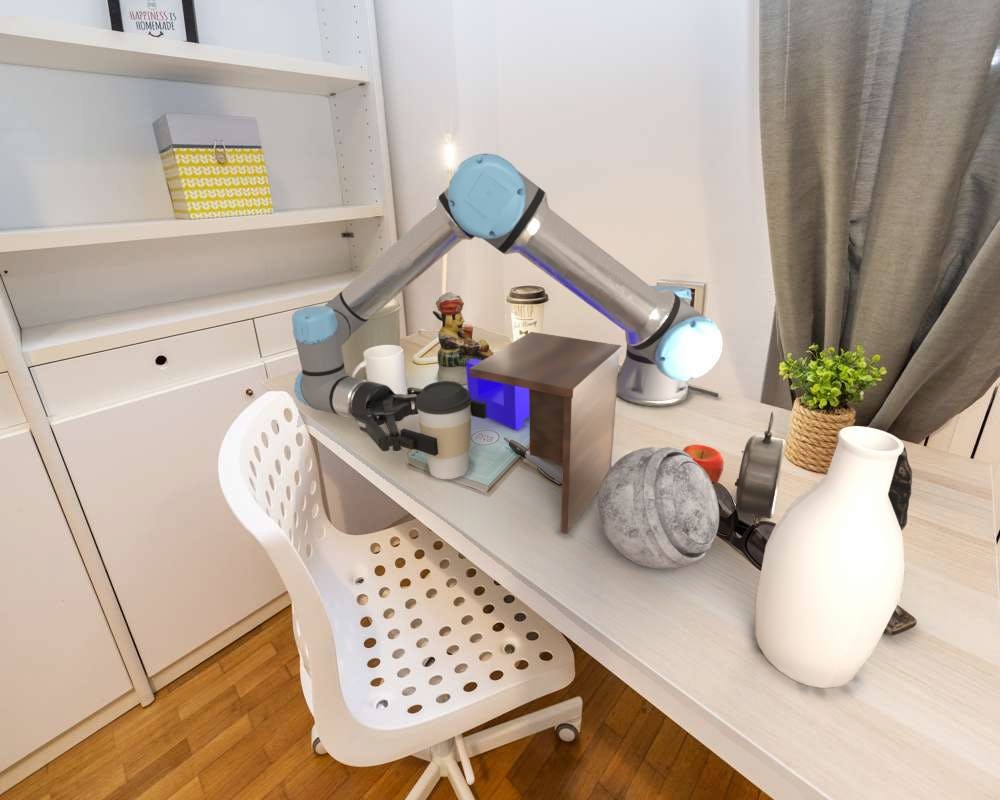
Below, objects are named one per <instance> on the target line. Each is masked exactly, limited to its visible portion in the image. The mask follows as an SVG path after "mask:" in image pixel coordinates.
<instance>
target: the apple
mask: <svg viewBox="0 0 1000 800" xmlns="http://www.w3.org/2000/svg"><path fill="white" fill-rule="evenodd" d="M682 451H684V452H686V453H687V454H689V455H690V456H691V457H692V458H693V461H695V462H697V464H699V465H700V466H701V467H702V468H703V469H704V470H705V472H706V473H707V474H708V476H709V478H710V480H711V482H715V483H717V484H718V483H719V481H720V478H721V476H722V473H723V471H724V464H725V462H724V458H723V456H722V453H721V452H719V451H718V450H717V449H715V448H713V447H710V446H707V445H702V444H690V445H687V446H685V447H684V449H683V450H682Z"/></svg>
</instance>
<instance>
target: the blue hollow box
mask: <svg viewBox="0 0 1000 800" xmlns="http://www.w3.org/2000/svg"><path fill="white" fill-rule="evenodd" d="M479 362H481V360H478V359H474V360H471V361H468V362H466V368H467V384H466V385H467V390H468V391H469V392H470V396H471V398H472V400H475V401H480V402H484V403H486V415H487V417H486V418H489V419H490V420H493V421H495V422H496V423H499V424H500V425H503V426H505V427H508V428H510V429H512V430H515V431H517V430H520V429H521V428H523V427H524V420H526V419H527V418H528V419H529V389H527V388H522V387H518V386H513V385H508V384H503V383H499V382H494V381H489V380H485V379H480V378H475V377H470V371H469V368H471V367H473V366H474V365H476V364H478V363H479Z"/></svg>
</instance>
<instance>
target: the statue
mask: <svg viewBox="0 0 1000 800" xmlns="http://www.w3.org/2000/svg"><path fill="white" fill-rule="evenodd" d="M912 484H913V470H912V467H911V466H910V463H909V460H908V452H907V448H906V446H904V449H903V452H902V453H901V454H900V455H899V456H898V459H897V463H896V467H895V470H894V474H893V478H892V481H891V485H890V489H889V492H888V497H889V499H890V502H891V504H892V507H893V510H894V512H895V515H896V518H897V520H898V523H899V525H900V528H901V531H902V532H903V530H904V529H905V527H906V526H907V523H908V510H909V505H910V499H911V495H912ZM917 622H918V621H917V619H916V618H915V617H914V616H913V615H912V614H911V613H909V612H908V611H906V610H905V609H904V608H903V607H901V606H900V605H899V604H897V606H896V608H895V610H894V612H893V614H892V616H891V618H890V620H889V622H888V624H887V626H886V628H885V630H884V632H885V633H886V634H888V635H890V636H894V635H898V634H901V633H903V632H906V631H908V630H911V629H913V628H915V627H916V626H917Z"/></svg>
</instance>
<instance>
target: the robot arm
mask: <svg viewBox="0 0 1000 800" xmlns="http://www.w3.org/2000/svg"><path fill="white" fill-rule="evenodd" d="M451 176H452V177H451V179H450V180H449V184H448V187H447V188H446V189H445V190H444V191H443V192H442V193H441V194H440V195H439V196H437V198H436V206H435V207H434V208H433V209H432V210H430V211H429V212H428V213H427V214H426V215H425V216H423V218H421V220H419V221H418V222H417V223H416V224H415V225H413V226H412V227H411V228H410V229H409V230H408V231H407V232H405V233H404V234H403V236H401V237H400V238H398V240H397V241H396V242H394V244H392V245H391V246H390V247H389V248H388V249H387V250H386V251H385V252H384V253H382V254H381V255H380V256H379V257H378V258H377V259H376V260H374V261H373V262H372V263H371V264H370V265H369V266H368V267H366V268H365V270H363V271H362V272H361V273H360V274H358V276H357V277H355V278H354V279H353V280H352V281H351V282H349V284H348V285H347V286H345V287H344V288H343V289H342V290H341V291H340V292H339V293H338V294H336V296H334V297H333V298H332V299H330V300H329V301H328V302H327V303H325V305H313V306H306V307H303V308H300V309H297V310H295V311H294V312H293V314H292V315H291V324H292V334H293V337H294V340H295V345H296V348H297V353H298V357H299V362H300V366H301V371H300V372H299V373H298V374H297V376H296V377H295V381H294V382H295V383H294V386H293V393H294V395H295V397H296V399H297V400H298V401H299V402H300V403H301V404H303V405H305V406H308V407H310V408H311V409H313V410H316V411H323V412H326V413H331V414H334V415H337V416H338V417H339V416H340V417H343V418H347V419H349V420H354V421H357V422H358V429H359V431H361V432H364V433H366V434H367V435H368V436H369V437H370V439H371V440H372V441H373V442H374V444H375V445H376V446H377V447H378V448H379V449H380V451H381V452H388V451H390V448H391V447H392V451H393V452H400V451H401V450H402V448H405V449H408V450H412V451H413V450H415V451H418V452H421V453H425V454H426V453H427V454H431V455H434V456H436V455H437V454H438V444H437V438H435V437H431V436H428V435H424V434H421V432H417V431H413V430H411V429H407V428H404V427H403V428H402V429H401V430H400V432H399V428H398V425H397V422H401V421H402V420H404V419H405V418H406V417H408V416H409V417H410V416H415V415H418V410H417V408H416V406H415V402H416V398H417V396H418V394H419V393H420V392H422V389H423V388H420V387H419V388H418V387H412V386H409V387H407V392H408V393H407V394H405V395H404V394H395V393H394V392H393V391H392V390H391V389H390V388H389V387H388V386H386V385H383V384H379V383H375V382H370V381H368V380H363V379H359V378H354V377H351V376H348V375H347V374H346V373H345V367H344V360H343V354H342V346H343V344H344V343H345V342H346V341H347V340H348V338H349V337H350V336H351V335H352V334H353V333H354V332H355V331H356V330H357V329H358V328H360V327H361V326H362V325H363V324H364V323H365V322H367V320H368V319H370V318H371V317H372V316H373V315H374V314H376V313H377V312H378V311H379V310H380V309H381V308H383V307H384V306H385V305H386V304H387V303H389V302H390V301H391V300H392V299H395V298H396V297H397V296H398V295H399V294H401V293H402V292H403V291H404V290H406V289H407V287H408V286H410V285H411V284H412V283H414V282H415V281H416V280H417V279H418V278H420V277H421V276H422V275H423V274H424V273H425V272H426V271H428V270H429V269H430V268H431V267H432V266H434V264H436V263H437V262H438V261H439V260H440V259H442V258H443V257H444V256H445V255H446V254H448V253H449V252H450V251H451V250H452V249H453V248H455V247H456V246H457V245H458V244H459V243H460V242H462V241H463V240H465V241H466V240H468V241H471V240H473V239H475V238H477V239H483V240H484V241H485V242H486V243H488V244H489V245H491V246H492V247H494V248H495V249H496V250H498V251H499V252H501V254H503V255H510V254H519V255H521V256H522V257H523V258H525V259H526V260H527V261H529V262H530V263H531V264H532V265H534V266H535V267H537V268H538V269H540V270H541V271H542V272H544V273H545V274H546V275H548V276H549V277H550V278H552V279H553V280H554V281H556V282H557V283H558V284H560V285H561V286H563V287H564V288H566V289H567V290H568V291H570V292H571V293H572V294H573V295H575V296H576V297H578V298H579V299H580V300H582V301H583V302H585V303H586V304H587V305H589V306H590V307H591V308H593V309H594V310H596V311H597V312H598V313H600V314H601V315H603V316H604V317H605V318H607V319H608V320H610V322H612V323H614V325H616V326H617V327H618V328H620V329H621V330H622V331H624V332H625V333H624V335H625V336H624V337H625V342H626V351H625V358H624V360H623V362H622V365H621V367H620V369H619V371H618V378H617V392H616V396H618V397H619V398H620V399H622V400H624V401H627V402H628V403H632V404H634V405H635V404H636V405H640V406H645V407H669V406H675V405H677V404H678V405H679V404H681V403H683V402H684V401H685V400H686V399H687V398H688V394H689V391H693V392H697V393H701V394H705V395H708V396H712V397H715V398H718V397H719V393H718V392H714V391H710V390H707V389H703V388H699V387H695V386H691V385H689V383H688V380H695V379H697V378H700V377H701V376H703V375H705V374H706V373H707V372H709V371H710V370H711V369H712V368H713V367H714V366H715V364H716V363H717V362H718V360H719V358H720V356H721V353H722V350H723V337H722V333H721V331H720V329H719V328H718V326H717V324H716V323H715V322H714V321H713V320H712V319H710V318H708V317H706V316H705V315H703V314H702V313H701V312H699V311H698V310H697V309H696V308H694V307H693V306H692V305H691V301H692V300H693V297H692V290H691V289H690V288H689V287H687V286H681V285H650V284H648V283H647V282H646V281H644V280H643V279H642V278H640V277H639V276H638V275H637V274H635V273H634V272H633V271H631V270H630V269H629V268H627V267H626V266H625V265H624V264H622V263H621V262H619V260H617V259H616V258H615V257H614V256H612V255H610V254H609V253H608V252H607V251H606V250H604V249H603V248H601V247H600V246H599V245H598V244H597V243H596V242H594V241H592V239H590V238H589V237H588V236H586V235H585V234H584V233H582V231H580V230H579V229H577V228H576V227H574V226H573V225H572V224H571V223H569V222H568V221H567V220H565V219H564V218H563V217H562V216H560V215H559V214H558V213H556V212H555V211H554V210H553V209H551V208H550V207H549V206H550V205H549V201H548V194H547V192H546V191H545V190H543V189H542V188H541V187H539V186H538V185H537V184H535V183H534V182H533V181H532V180H530V179H529V178H528V177H526V176H525V175H524V174H523V173H522V172H520V171H519V170H518V169H517V168H516V167H515V166H514V164H513V163H512V162H510V161H508V159H506V158H504V157H502V156H500V155H497V154H493V153H478V154H474V155H472V156H470V157H467V158H465V160H463V161H462V162H461V163H460V164H459V165H458V166H457V168H456V169H455V170H454V172H453V174H452V175H451ZM412 405H413V406H414V408H413V406H412ZM470 412H471V417H475V418H479V419H482V420H484V419H486V418H488V417H487V415H486V403H484V402H480V401H475V400H472V402H471V409H470ZM384 424H385V425H386V429H387V431H388V434H387V433H386V432H385V430H384V429H383V428H382V427H381V426H382V425H384Z"/></svg>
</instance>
